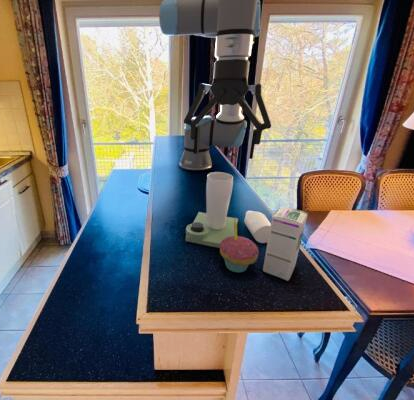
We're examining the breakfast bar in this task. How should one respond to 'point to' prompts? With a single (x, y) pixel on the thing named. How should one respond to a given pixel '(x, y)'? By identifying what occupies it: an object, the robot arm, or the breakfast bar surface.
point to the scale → (210, 232)
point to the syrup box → (284, 242)
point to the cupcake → (238, 251)
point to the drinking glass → (218, 199)
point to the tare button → (197, 227)
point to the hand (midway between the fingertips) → (222, 154)
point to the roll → (258, 225)
